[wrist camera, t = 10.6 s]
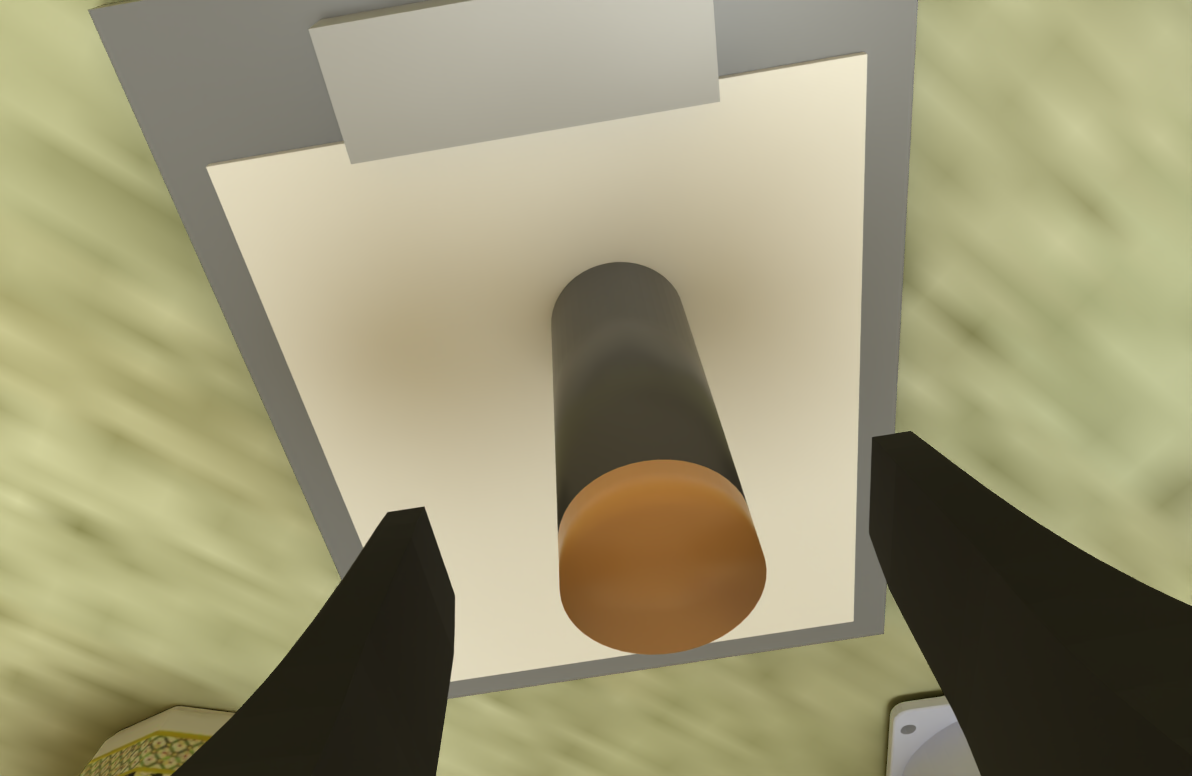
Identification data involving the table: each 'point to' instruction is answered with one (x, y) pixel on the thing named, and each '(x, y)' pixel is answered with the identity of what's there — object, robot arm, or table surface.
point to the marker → (644, 472)
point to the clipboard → (546, 265)
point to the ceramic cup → (157, 743)
